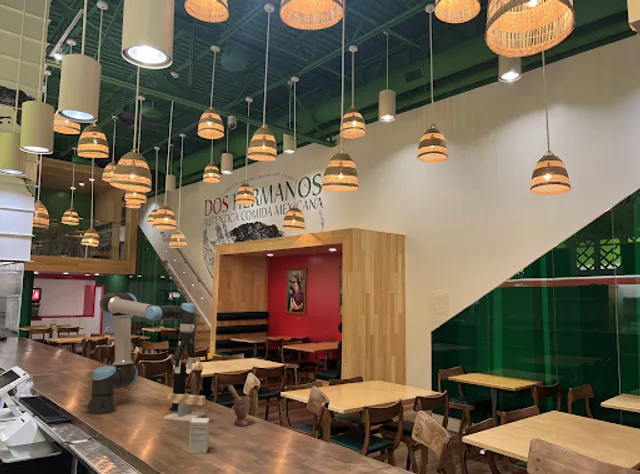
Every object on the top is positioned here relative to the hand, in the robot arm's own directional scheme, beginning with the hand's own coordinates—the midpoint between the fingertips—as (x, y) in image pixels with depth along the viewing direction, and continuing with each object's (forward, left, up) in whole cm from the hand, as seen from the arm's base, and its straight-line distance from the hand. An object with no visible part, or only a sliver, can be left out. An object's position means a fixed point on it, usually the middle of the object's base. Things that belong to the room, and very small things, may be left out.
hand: (183, 371), depth 269 cm
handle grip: (-9, +13, -24) cm, 28 cm away
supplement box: (+36, -52, -24) cm, 68 cm away
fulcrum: (+3, -2, -23) cm, 24 cm away
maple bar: (+4, -2, -16) cm, 17 cm away
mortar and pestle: (+36, -8, -24) cm, 44 cm away
